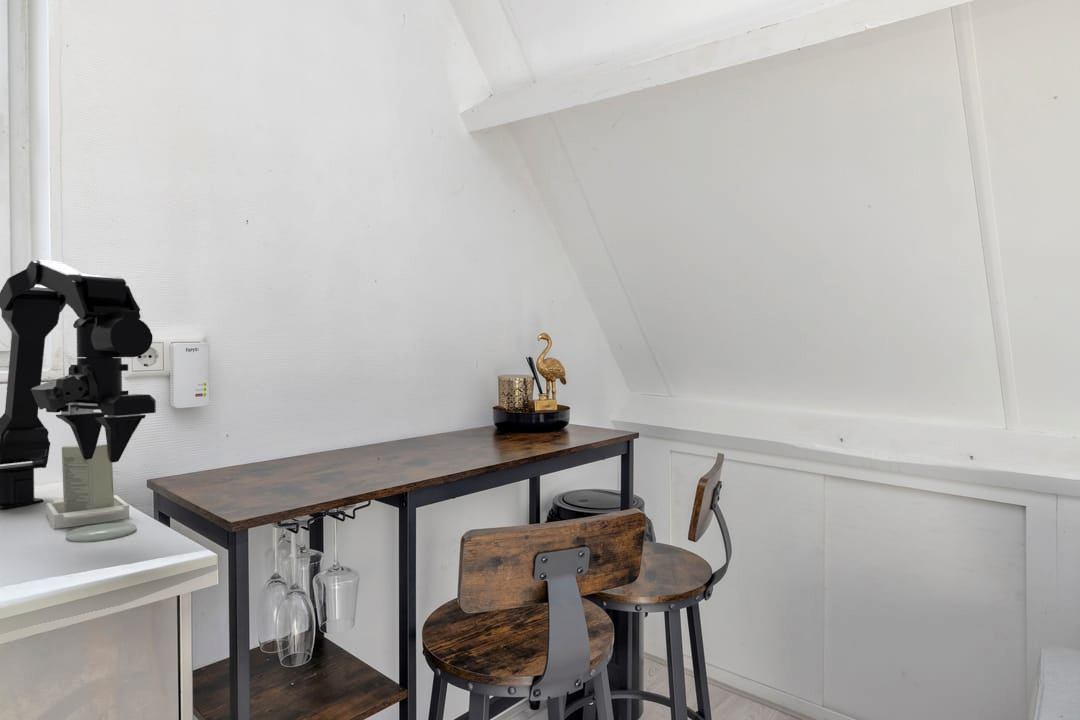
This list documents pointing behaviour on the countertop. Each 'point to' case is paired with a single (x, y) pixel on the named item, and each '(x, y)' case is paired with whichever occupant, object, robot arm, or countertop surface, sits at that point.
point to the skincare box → (87, 479)
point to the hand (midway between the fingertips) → (100, 460)
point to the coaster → (100, 532)
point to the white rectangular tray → (85, 514)
